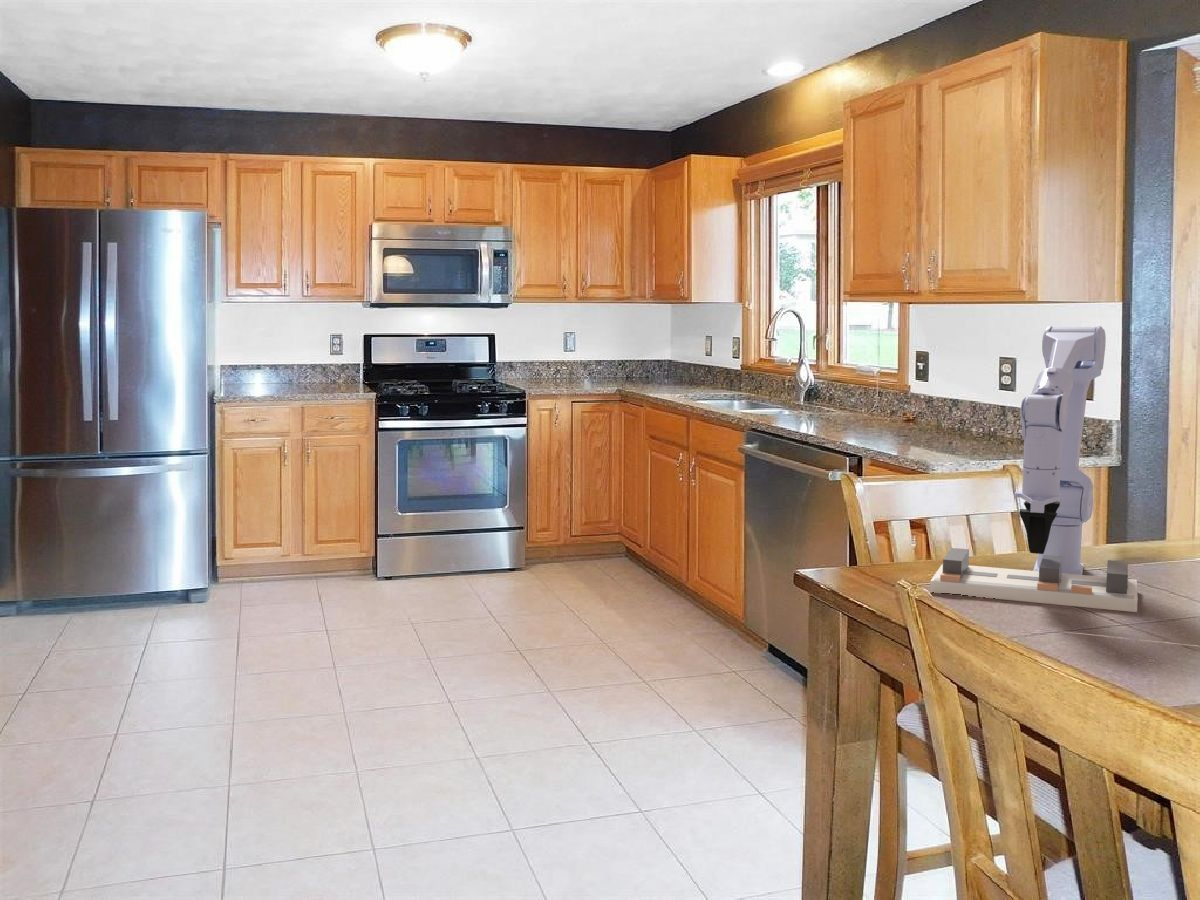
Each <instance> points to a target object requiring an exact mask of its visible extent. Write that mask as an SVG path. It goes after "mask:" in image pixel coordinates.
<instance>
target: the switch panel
mask: <svg viewBox="0 0 1200 900" xmlns="http://www.w3.org/2000/svg"><path fill="white" fill-rule="evenodd" d="M1106 581H1107V576H1099V575H1098V576H1097V575H1087V574H1082V575H1076V574H1064V573H1062V575H1061V579H1060V583H1059V587H1058V583H1049V582H1039V571H1033V570H1029V569H1028V570H1027V569H1026V570H1025V569H1017V568H1016V569H1015V568H1002V567H993V566H979V565H969V566H968V568H967V570H966V571H965V573H964V575H963V576H962V578H961V579H960V575H958V574H947V573H943V563H942V564H941V565H940V566H939V568H938V570H937V571H936V572H935V573H934V575H933V576H932V578H931V579H930V583H929V585H930V586H929V589H930V590H929V593H932V592H934V593H933V594H941V593H954V594H961V595H960V596H962V595H968V596H967V597H972V596H976V597H975V598H983V597H985V598H986V599H993V598H995V599H996V600H1007V601H1015V602H1016V601H1017V602H1025V603H1026V602H1027V603H1038V604H1048V605H1058V606H1068V607H1079V608H1088V609H1099V610H1110V611H1122V612H1131V613H1138V600H1139V599H1138V582H1137V581H1138V579H1135V578H1128V582H1127V593H1116V592H1106Z"/></svg>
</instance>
